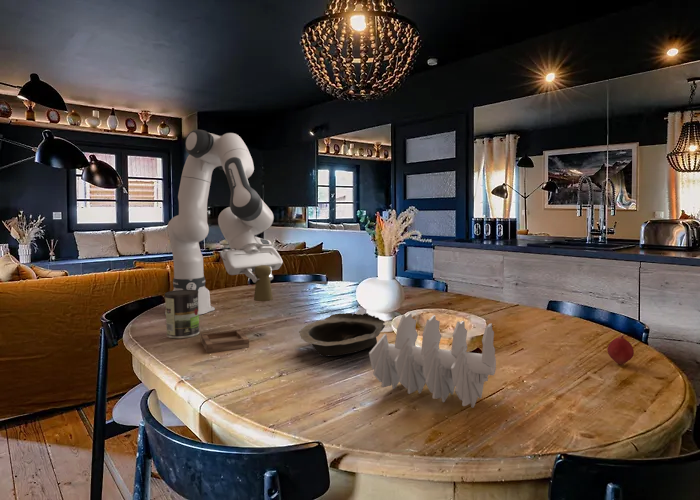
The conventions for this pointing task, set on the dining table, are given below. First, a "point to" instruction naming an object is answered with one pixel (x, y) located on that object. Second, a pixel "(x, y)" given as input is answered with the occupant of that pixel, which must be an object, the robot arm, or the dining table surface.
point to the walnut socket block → (224, 341)
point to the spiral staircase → (434, 361)
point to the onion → (620, 350)
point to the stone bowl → (343, 333)
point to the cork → (263, 284)
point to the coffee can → (182, 313)
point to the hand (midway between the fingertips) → (264, 280)
